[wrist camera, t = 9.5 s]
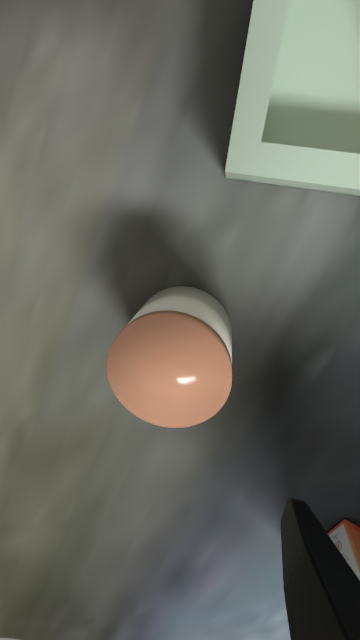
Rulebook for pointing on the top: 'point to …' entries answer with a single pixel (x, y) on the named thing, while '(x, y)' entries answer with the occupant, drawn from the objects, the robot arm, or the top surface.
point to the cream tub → (174, 359)
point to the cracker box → (348, 543)
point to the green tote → (299, 97)
